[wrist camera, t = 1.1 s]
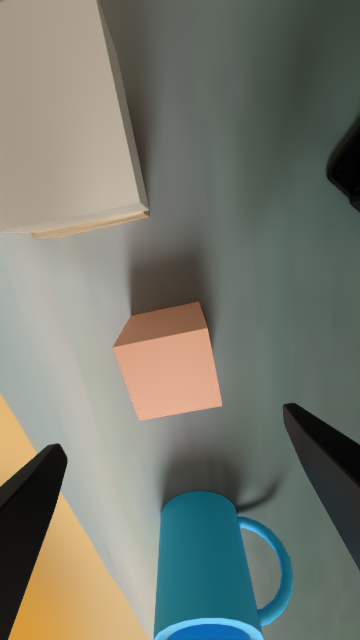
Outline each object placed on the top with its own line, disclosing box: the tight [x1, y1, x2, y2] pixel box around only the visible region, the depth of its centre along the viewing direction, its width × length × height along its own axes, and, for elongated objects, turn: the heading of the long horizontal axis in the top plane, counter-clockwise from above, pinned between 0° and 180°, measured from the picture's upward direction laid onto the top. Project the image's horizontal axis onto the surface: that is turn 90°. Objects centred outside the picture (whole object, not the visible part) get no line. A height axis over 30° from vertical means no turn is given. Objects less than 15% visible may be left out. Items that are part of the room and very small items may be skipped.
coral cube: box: [113, 301, 222, 421], centre depth 15 cm, size 5×5×5 cm
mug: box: [154, 491, 294, 640], centre depth 21 cm, size 12×8×8 cm
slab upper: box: [0, 0, 149, 233], centre depth 9 cm, size 6×6×3 cm
